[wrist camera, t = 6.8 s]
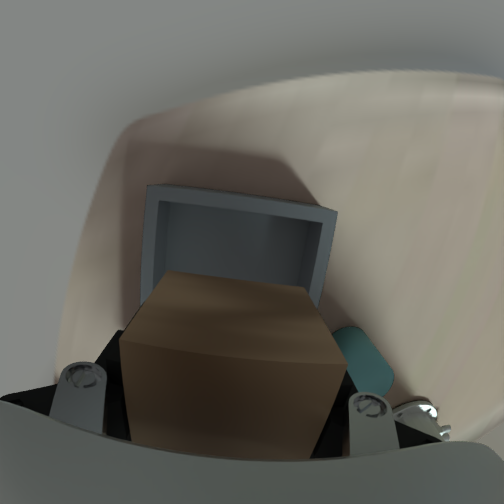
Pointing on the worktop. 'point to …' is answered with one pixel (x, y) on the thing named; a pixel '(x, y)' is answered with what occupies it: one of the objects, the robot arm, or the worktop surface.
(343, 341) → the teal cylinder
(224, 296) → the walnut cube
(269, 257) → the tote
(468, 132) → the worktop surface
